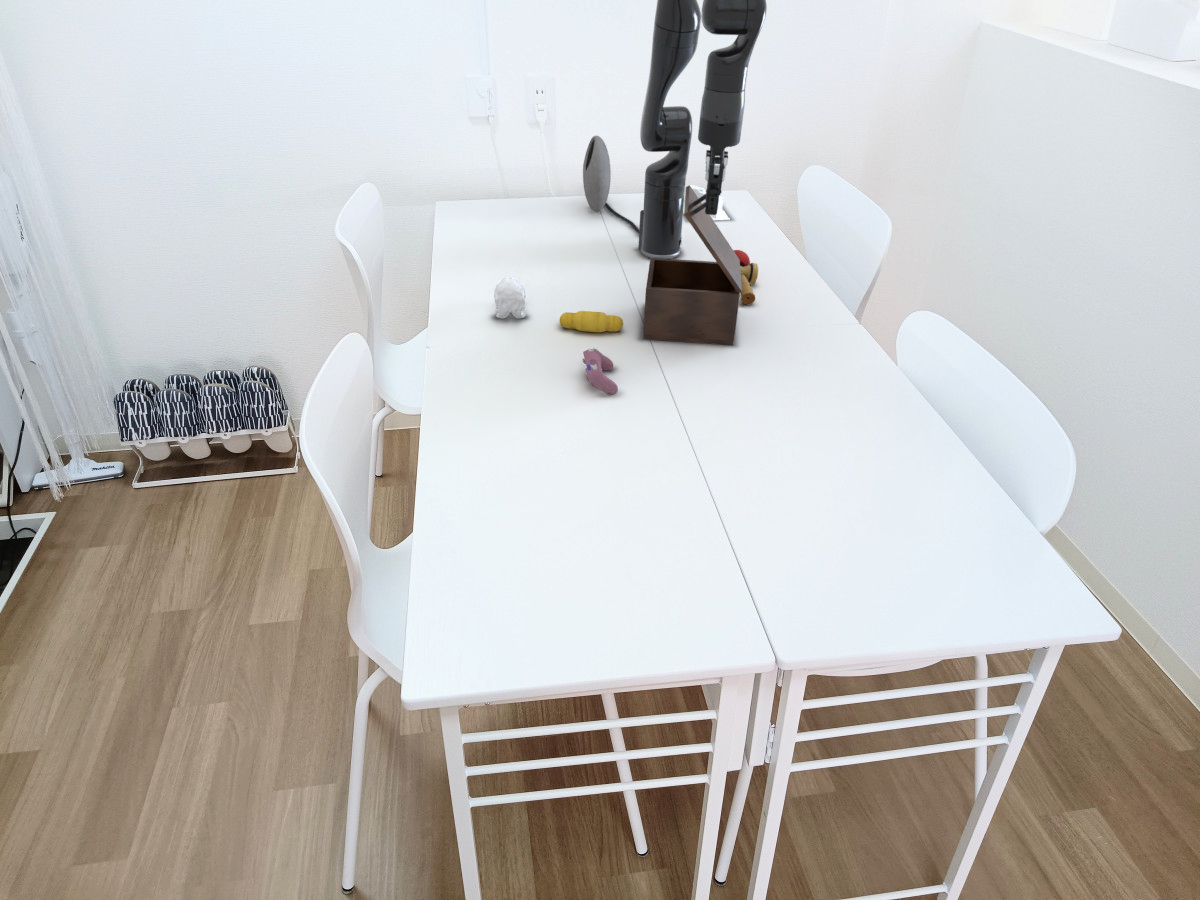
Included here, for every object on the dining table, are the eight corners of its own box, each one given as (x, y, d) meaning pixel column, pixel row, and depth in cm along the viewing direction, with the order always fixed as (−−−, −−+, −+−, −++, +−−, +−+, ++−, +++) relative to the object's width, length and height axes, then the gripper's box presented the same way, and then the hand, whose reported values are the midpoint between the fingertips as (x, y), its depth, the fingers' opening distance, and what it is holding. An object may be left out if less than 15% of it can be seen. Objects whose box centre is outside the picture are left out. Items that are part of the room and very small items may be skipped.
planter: (581, 197, 237) (581, 126, 226) (607, 197, 237) (609, 127, 226) (584, 222, 222) (584, 148, 211) (611, 222, 222) (614, 148, 211)
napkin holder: (731, 219, 226) (733, 198, 222) (688, 221, 224) (690, 199, 221) (715, 199, 238) (717, 178, 234) (675, 201, 236) (676, 180, 233)
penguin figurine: (492, 283, 171) (496, 263, 181) (494, 323, 175) (497, 302, 185) (524, 283, 171) (526, 264, 181) (525, 323, 175) (527, 302, 186)
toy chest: (642, 339, 172) (645, 288, 165) (647, 306, 184) (650, 257, 177) (733, 345, 170) (739, 294, 164) (732, 311, 182) (737, 263, 176)
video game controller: (593, 375, 163) (576, 346, 159) (615, 365, 162) (599, 336, 158) (597, 403, 155) (580, 373, 151) (620, 393, 154) (603, 363, 150)
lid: (683, 214, 156) (709, 197, 154) (685, 187, 168) (709, 171, 166) (738, 293, 164) (763, 278, 162) (736, 262, 176) (759, 247, 174)
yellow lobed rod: (557, 333, 173) (557, 314, 171) (560, 323, 176) (560, 305, 174) (621, 337, 172) (622, 319, 170) (623, 327, 175) (624, 309, 173)
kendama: (767, 309, 186) (752, 264, 199) (767, 285, 182) (751, 240, 195) (732, 315, 187) (718, 270, 200) (730, 291, 182) (717, 246, 195)
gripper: (701, 102, 159) (691, 193, 169) (699, 124, 147) (689, 220, 157) (742, 105, 158) (730, 196, 168) (744, 127, 147) (731, 223, 156)
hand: (711, 207), depth 162 cm, fingers closed on lid, 5 cm apart
